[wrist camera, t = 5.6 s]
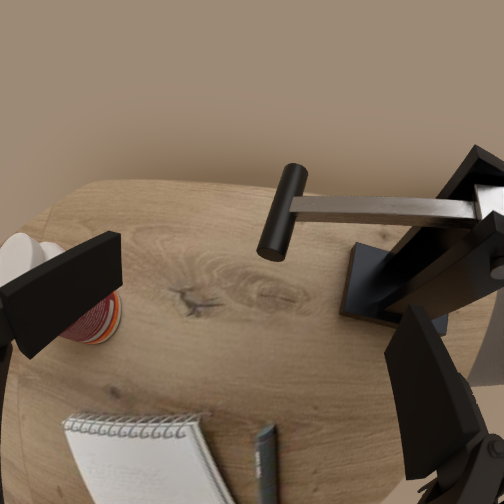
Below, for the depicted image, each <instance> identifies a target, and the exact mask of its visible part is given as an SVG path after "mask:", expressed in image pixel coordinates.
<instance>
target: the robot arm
mask: <svg viewBox="0 0 504 504" xmlns="http://www.w3.org/2000/svg"><path fill="white" fill-rule="evenodd" d="M122 285H123V282H122V263H121V234H120V233H116V232H112V231H107V232H105V233H103V234H101V235H98V236H96V237H94V238H92V239H90V240H88V241H86V242H84V243H81V244H79V245H77V246H75V247H73V248H71V249H69V250H67V251H65V252H63V253H61V254H59V255H57V256H55V257H54V258H52V259H50V260H48V261H46V262H44V263H42V264H40V265H38V266H37V267H35V268H33V269H31V270H29V271H27V272H26V273H24V274H22V275H20V276H19V277H17V278H15V279H13V280H12V281H10V282H8V283H6V284H5V285H3V286H1V287H0V443H1V421H2V410H3V401H4V393H5V387H6V380H7V375H8V369H9V364H10V360H11V355H12V351H13V346H12V344H11V341H13V340H14V339H15V341H16V343H17V345H18V348H19V350H20V351H21V352H22V353H23V354H24V355H25V356H26V357H27V358H29V359H30V360H31V359H32V358H33V357H34V356H35V355H36V354H37V353H39V352H40V351H41V350H42V349H43V348H44V347H46V346H47V345H48V344H49V343H50V342H51V341H53V340H54V339H55V338H56V337H57V336H59V335H60V334H61V333H62V332H63V331H65V330H66V329H67V328H68V327H70V326H71V325H72V324H73V323H74V322H76V321H77V320H78V319H79V318H81V317H82V316H83V315H84V314H86V313H87V312H88V311H89V310H91V309H92V308H93V307H94V306H96V305H97V304H98V303H100V302H101V301H102V300H103V299H105V298H106V297H107V296H109V295H110V294H111V293H113V292H114V291H115V290H116V289H118V288H119V287H120V286H122ZM384 355H385V359H386V363H387V368H388V372H389V376H390V381H391V385H392V390H393V395H394V400H395V405H396V410H397V416H398V422H399V428H400V434H401V441H402V448H403V456H404V465H405V474H406V480H415V479H423V478H426V477H427V476H428V475H430V474H431V473H432V472H434V471H435V470H436V471H437V477H436V478H435V479H433V480H432V481H431V482H429V483H428V484H426V485H425V486H423V487H422V488H420V489H419V490H418V493H420V492H422V491H423V490H425V489H427V490H426V491H425V493H424V494H423V495H422V498H421V499H420V500H419V502H418V503H417V504H498V498H499V497H500V496H502V495H503V494H504V440H503V439H502V438H501V437H500V436H499V435H496V434H489V433H488V430H487V427H486V425H485V422H484V419H483V417H482V414H481V412H480V409H479V407H478V404H476V399H475V397H474V395H472V394H473V392H472V390H471V388H470V386H469V383H468V382H467V381H466V379H465V378H464V377H463V376H462V375H461V373H458V372H457V370H456V368H455V366H454V363H453V361H452V359H451V357H450V355H449V353H448V351H447V349H446V347H445V345H444V343H443V342H442V340H441V338H440V336H439V334H438V332H437V330H436V328H435V327H434V325H433V323H432V321H431V319H430V318H429V316H428V314H427V312H426V311H425V309H424V307H423V306H419V305H414V304H410V303H409V304H408V306H407V308H406V310H405V313H404V315H403V317H402V319H401V321H400V323H399V325H398V327H397V329H396V331H395V333H394V335H393V337H392V339H391V341H390V343H389V345H388V347H387V348H386V350H385V352H384ZM0 504H5V503H4V498H3V490H2V479H1V458H0ZM499 504H504V501H502V502H501V503H499Z"/></svg>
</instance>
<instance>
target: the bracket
mask: <svg viewBox="0 0 504 504" xmlns="http://www.w3.org/2000/svg"><path fill="white" fill-rule="evenodd" d="M475 184H482V185H492V186H501V187H504V161H502V160H500V159H499V158H497V157H495V156H494V155H493V154H491V153H489V152H488V151H486V150H484V149H482V148H481V147H479V146H477V145H474V146H473V148H472V149H471V151H470V152H469V154H468V155H467V156H466V158H465V159H464V161H463V162H462V164H461V165H460V166H459V168H458V169H457V171H456V172H455V173H454V175H453V176H452V177H451V179H450V180H449V181H448V183H447V184H446V185H445V187H444V188H443V189H442V190H441V192H440V193H439V194H438V196H437V197H436V198H435V199H447V200H461V201H471V198H472V193H473V189H474V185H475ZM502 287H504V215H502V214H500V213H498V212H496V211H494V210H492V211H491V212H490V213H489V214H488V215H487V216H486V217H485V218H484V219H483V220H482V221H481V222H480V223H479V224H477V225H476V226H475V227H474V228H473V229H472V230H471V231H470V230H464V229H451V228H437V227H421V226H412V227H411V228H410V229H409V231H408V232H407V233H406V234H405V235H404V236H403V237H402V239H401V240H400V241H399V242H398V243H397V244H396V245H395V246H394V247H393V249H392V250H391V251H390V252H388V251H385V250H381V249H378V248H375V247H371V246H368V245H365V244H361V243H358V242H356V243H355V245H354V246H353V248H352V250H351V256H350V262H349V267H348V273H347V278H346V283H345V288H344V293H343V298H342V302H341V307H340V311H339V315H343V316H347V317H351V318H355V319H359V320H363V321H367V322H371V323H375V324H379V325H383V326H388V327H392V328H396V329H397V327H398V325H399V323H400V321H401V319H402V317H403V315H404V313H405V310H406V308H407V306H408V304H409V303H410V304H414V305H419V306H423V307H424V309H425V311H426V312H427V314H428V316H429V318H430V319H431V321H432V323H433V325H434V327H435V328H436V330H437V332H438V334H439V336H440V337H442V336H445V335H446V331H447V322H448V313H450V312H452V311H455V310H457V309H459V308H461V307H464V306H466V305H468V304H470V303H472V302H474V301H476V300H479V299H481V298H483V297H485V296H487V295H489V294H490V293H492V292H494V291H496V290H498V289H500V288H502Z"/></svg>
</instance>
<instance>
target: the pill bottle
mask: <svg viewBox="0 0 504 504" xmlns="http://www.w3.org/2000/svg"><path fill="white" fill-rule="evenodd" d="M63 252H65V250H64V249H63V248H61V247H60V246H58V245H57V244H55V243H51V242H42V243H38V242H37V241H36V240H34V239H32V238H31V237H29V236H28V235H27V234H24V233H17V234H15V235H13V236H11V237H10V238H9V239H8V240H7V241H6V242H5V243H4V245H3V246H2V247H1V249H0V287H1V286H3V285H5V284H6V283H8V282H10V281H12V280H13V279H15V278H17V277H19V276H20V275H22V274H24V273H26V272H27V271H29V270H31V269H33V268H35V267H37V266H38V265H40V264H42V263H44V262H46V261H48V260H50V259H52V258H54V257H55V256H57V255H59V254H61V253H63ZM120 316H121V302H120V298H119V295H118V293H117V291H116V290H115V291H114V292H113V293H111V294H110V295H109V296H107V297H106V298H105V299H103V300H102V301H101V302H100V303H98V304H97V305H96V306H94V307H93V308H92V309H91V310H89V311H88V312H87V313H86V314H84V315H83V316H82V317H81V318H79V319H78V320H77V321H76V322H74V323H73V324H72V325H71V326H70V327H68V328H67V329H66V330H65V331H63V332H62V333H61V334H60V335H59V336H61V337H64V338H67V339H71V340H75V341H78V342H82V343H86V344H98V343H101V342H103V341H105V340H107V339H108V338H109V337H110V336H111V335H112V334H113V333H114V332H115V330H116V328H117V326H118V323H119V320H120Z"/></svg>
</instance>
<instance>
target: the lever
mask: <svg viewBox="0 0 504 504" xmlns="http://www.w3.org/2000/svg"><path fill="white" fill-rule="evenodd" d="M307 177H308V172H307V170H306V168H305V167H303V166H302V165H299V164H296V163H291V164H288V165H286V166H285V167H284V170H283V173H282V176H281V180H280V182H279V185H278V188H277V191H276V194H275V197H274V200H273V203H272V206H271V209H270V212H269V214H268V217H267V220H266V223H265V226H264V229H263V232H262V235H261V238H260V241H259V244H258V247H257V250H256V252H257V254H258V255H259V256H261V257H262V258H264V259H266V260H269V261H274V262H281V261H283V260H284V259H285V257H286V253H287V250H288V246H289V243H290V239H291V236H292V232H293V229H294V225H295V222H333V223H361V224H384V225H404V226H421V227H437V228H451V229H464V230H470V231H471V230H472V229H473V228H474V227H475V226H476V225H477V224H479V223H480V222H481V221H482V220H483V219H484V218H485V217H486V216H487V215H488V214H489V213H490V212H491V211H492V210H494V211H496V212H498V213H500V214H502V215H504V187H501V186H492V185H482V184H475V185H474V189H473V193H472V198H471V201H461V200H447V199H431V198H410V197H381V196H380V197H379V196H303V192H304V188H305V185H306V180H307Z"/></svg>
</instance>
